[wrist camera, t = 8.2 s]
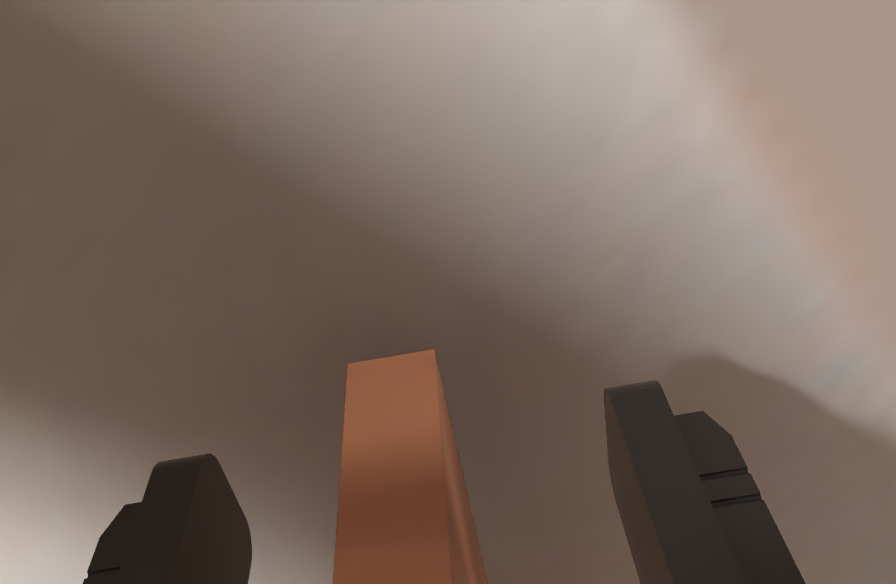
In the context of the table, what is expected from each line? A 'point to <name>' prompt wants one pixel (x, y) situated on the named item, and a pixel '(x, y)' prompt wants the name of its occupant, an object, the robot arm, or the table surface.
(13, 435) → the table surface
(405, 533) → the wooden handled block
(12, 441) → the table surface
